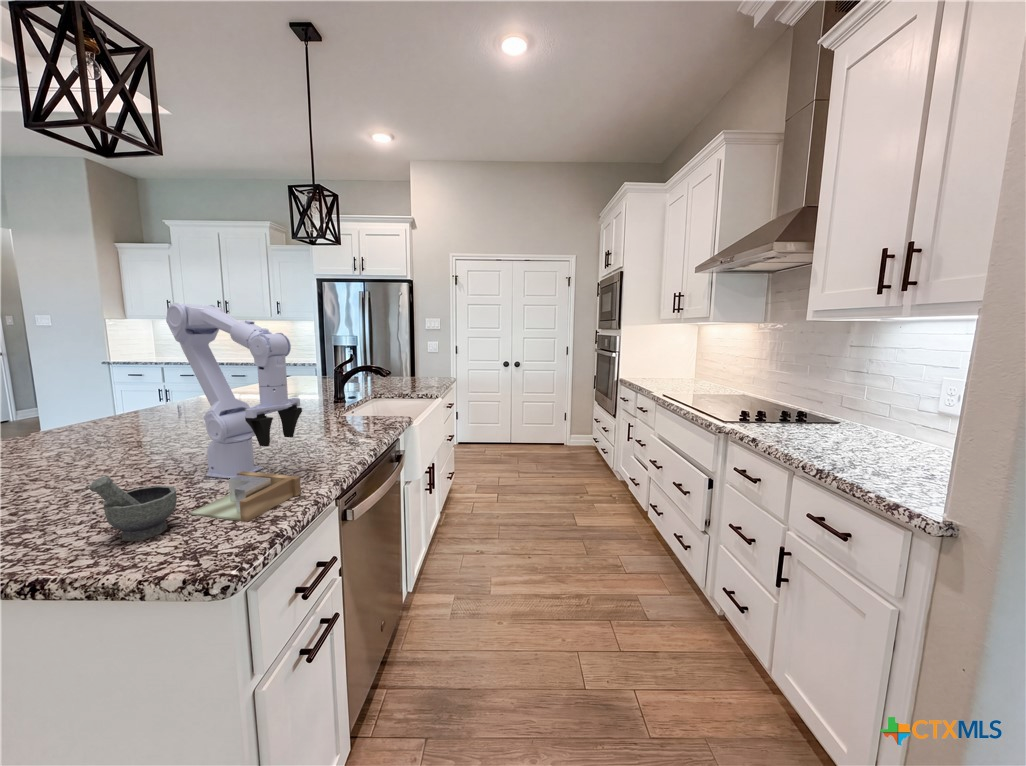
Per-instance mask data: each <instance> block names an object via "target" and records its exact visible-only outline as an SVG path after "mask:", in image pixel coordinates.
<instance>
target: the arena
mask: <svg viewBox="0 0 1026 766" xmlns="http://www.w3.org/2000/svg"><path fill="white" fill-rule="evenodd" d="M237 475H243V476H253V477H263V478H271V486H270V487H267V488H265V489H263V490H261V491H259V492H257V493H255V494H253V495H251V496H249V497H247V498H245V499H243V500H241V501H239V502H240V513H237V511H236V502H230V493H229V494H227V495H225V496H223V497H221V498H218V499H216V500H214V501H212V502H210V503H207V504H205V505H203V506H201V507H198V508H197V509H194V510H192V511H190V512H189V513H188V514H189V515H190V516H192V515H193V516H199V517H207V518H213V519H222V520H223V519H224V520H231V521H239V522H246V523H249V521H252V520H254V519H255V518H257V517H258V516H261V515H263V514H264V513H266V512H267V511H270V510H271V509H273V508H275V507H277V506H278V505H280V504H282V503H283V502H286V501H287V500H289V499H291V498H293V497H298V496H299V495H301V494H302V492H301V491H302V490H301V489H302V488H301V477H300V476H296V475H295V476H294V475H283V474H274V473H263V472H257V471H256V472H245V471H242V472H239V473H237Z"/></svg>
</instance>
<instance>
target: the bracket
mask: <svg viewBox="0 0 1026 766" xmlns="http://www.w3.org/2000/svg"><path fill="white" fill-rule="evenodd" d="M227 479H228V488H229V490H228V491H229V494H230V502H236V511H237V513H240V502H239V501H241V500H243V499H245V498H247V497H249V496H251V495H253V494H255V493H257V492H259V491H261V490H263V489H265V488H267V487H270V486H271V478H263V477H253V476H243V475H237V476H235V477H232V478H230V479H229V478H227Z"/></svg>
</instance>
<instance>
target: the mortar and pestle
mask: <svg viewBox="0 0 1026 766" xmlns="http://www.w3.org/2000/svg"><path fill="white" fill-rule="evenodd" d="M89 490H90V491H91V492H93V493H94V492H95V493H96V494H97V495H98V496H99V497H100V498H101V499H103V502H102V503H103V510H104V516H105V518H106V521H107V523H108V524H109V525H110V526H111V527H112V528H114V529H115V530H118V531H121V538H122V541H127V542H136V541H142V540H147V539H150V538H153V537H155V536H158V535H160V534H162V533H163V532H165V531H166V530H167V529H168V524H167V522H166V520H167V519H168V518H169V517H170V516H171V515H172V514H173V513H174V511H175V508H176V507H177V501H178V500H177V499H178V498H177V497H178V496H177V490H176V489H175V486H169V485H153V486H146V487H138V488H135V489H131V490H128V491H125V490H123V489H122V488H120V486H118V485H117V484H116V483H114V482H113V481H112V478H111V477H109V476H101V477H99V478H97V479H96V480H94V481H93V482H91V484H89Z"/></svg>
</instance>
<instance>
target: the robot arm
mask: <svg viewBox="0 0 1026 766" xmlns="http://www.w3.org/2000/svg"><path fill="white" fill-rule="evenodd" d="M166 323H167V324H166V325H167V326H168V328H169V330H170V332H171V333H172V336H173V338H174V340H175V341H176V342H177V343H179V345H180V348H181V350H182V352H183V353H184V355H185V357H186V359H187V361H188V363H189V365H190V367H191V369H192V371H193V373H194V375H195V377H196V379H197V382H198V383H199V386H200V387H201V389H202V391H203V394H204V395H205V398H206V399H207V402H208V403H209V405H210V408H208V410H207V411H206V412H205V413H204V416H203V420H204V422H205V425H206V432H207V435H208V437H209V438H210V439H211V441H210V442H209V444H208V446H207V448H206V449H207V450H206V456H207V457H206V458H207V465H208V466H207V467H208V472H207V473H206V474H205V476H206V477H210V478H211V477H212V478H220V479H221V478H222V479H229V478H232V477H235V476H237V473H239V472H242V471H245V472H256V473H257V472H259V471H261V470H262V469H264V466H261V465H260V466H259V465H255V460H254V458H255V457H254V446H253V438H254V437H255V438H256V440H257V442H258V444H259V447H269V446H270V444H271V427H272V422H273V420H274V417H271V416H267V415H268V414H271V413H276V412H277V413H278V416H279V418H280V421H281V425H282V426H281V428H282V434H283V437H284V438H294V436H295V430H296V427H297V422H298V419H299V417H300V416H301V414H302V412H303V408H302V407H300V406H301V398H297V397H292V398H289V393H288V379H287V377H288V375H287V363H286V357H288V355H290V352H291V348H292V344H291V341H290V338H289V337H287V335H285V334H284V333H283V332H276V333H272V332H271V331H269V329H268V328H266V327H261V326H259V325H257V324H255V321H254V320H252V319H245V320H240V321H239V320H237V319H236V318H235V317H233V316H230V315H229V314H227V313H225V312H224V311H223V307H218V306H217V305H216V304H215V305H214V304H209V305H202V304H190V303H189V304H188V303H187V304H185V303H178V302H173V303H171V304H170V305H169V307H168V309H167V311H166ZM219 330H220V331H223V332H225V333H227V334H229V335H230V338H231V340H232V341H233V342H235V343H236V344H238V345H240V346H242V347H244V348H246V349H247V350H249V351H250V354H251V355H252V357H253V363H254V364H255V366H256V367H257V377H258V378H257V379H258V391H259V392H258V393H259V401H260V402H259V404H257V405H254V406H252V407H250V405H249V403H248V402H245V401H243V400H240V399H238V398H236V396H235V394H234V392H233V391H232V389H231V387H230V385H229V383H228V381H227V379H226V377H225V375H224V373H223V371H222V369H221V367H220V366H219V364H218V361H217V359H216V358H215V356H214V353H213V351H212V350H211V347H210V343H211V342H213V341H215V340H216V338H217V335H218V333H219Z"/></svg>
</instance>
